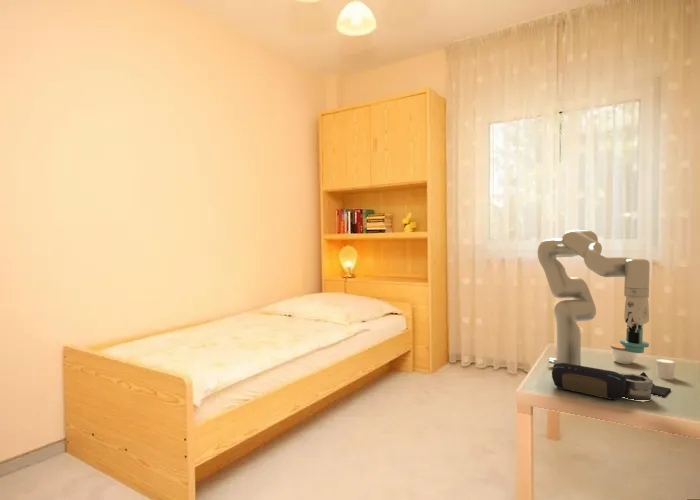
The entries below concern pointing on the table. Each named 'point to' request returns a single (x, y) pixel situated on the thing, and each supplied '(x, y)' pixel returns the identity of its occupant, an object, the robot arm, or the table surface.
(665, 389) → the handheld gaming console
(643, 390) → the octagonal studded bezel
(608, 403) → the table surface
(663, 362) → the beige cup
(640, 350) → the teal disc with handle
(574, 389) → the portable speaker
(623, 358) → the lidded jar
